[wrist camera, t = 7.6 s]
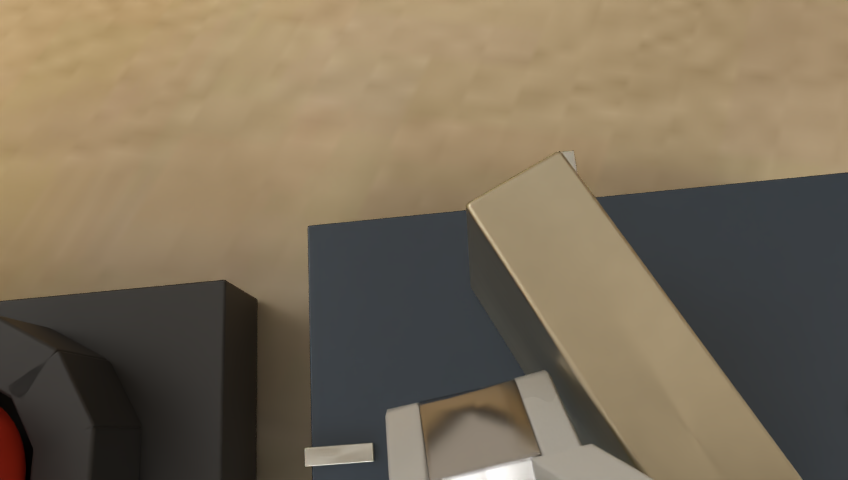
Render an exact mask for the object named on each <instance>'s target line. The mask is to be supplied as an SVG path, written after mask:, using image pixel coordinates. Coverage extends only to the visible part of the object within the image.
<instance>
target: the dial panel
mask: <svg viewBox="0 0 848 480" xmlns="http://www.w3.org/2000/svg"><path fill="white" fill-rule="evenodd" d="M561 153H563V154H564V156H565V157H566V158H567V160H568V161H569V163H570V164H571V165H572V167H573V168H574V169H575V171H576V172H577V167H576V161H575V154H574V151H565V152H561ZM595 198H596V199H597V201H598V202H599V203H600V205H601V206H602V207H603V209H604V210H605V212H606V213H607V214H608V216H609V217H610V218H611V220H612V221H613V222H614V224H615V225H616V226H617V228H618V229H619V231H620V232H621V233H622V235H623V236H624V237H625V239H626V240H627V241H628V243H629V244H630V246H631V247H632V248H633V250H634V251H635V252H636V254H637V255H638V256H639V258H640V259H641V260H642V262H643V263H644V265H645V266H646V267H647V269H648V270H649V271H650V273H651V274H652V275H653V277H654V278H655V280H656V281H657V282H658V284H659V285H660V286H661V288H662V289H663V290H664V292H665V293H666V294H667V296H668V297H669V299H670V300H671V301H672V303H673V304H674V305H675V307H676V308H677V309H678V311H679V312H680V314H681V315H682V316H683V318H684V319H685V320H686V322H687V323H688V324H689V326H690V327H691V328H692V330H693V331H694V333H695V334H696V335H697V337H698V338H699V339H700V341H701V342H702V343H703V345H704V346H705V348H706V349H707V350H708V352H709V353H710V354H711V356H712V357H713V358H714V360H715V361H716V362H717V364H718V365H719V367H720V368H721V369H722V371H723V372H724V373H725V375H726V376H727V377H728V379H729V380H730V382H731V383H732V384H733V386H734V387H735V388H736V390H737V391H738V392H739V394H740V395H741V396H742V398H743V399H744V401H745V402H746V403H747V405H748V406H749V407H750V409H751V410H752V411H753V413H754V414H755V416H756V417H757V418H758V420H759V421H760V422H761V424H762V425H763V426H764V428H765V429H766V430H767V432H768V433H769V435H770V436H771V437H772V439H773V440H774V441H775V443H776V444H777V445H778V447H779V448H780V449H781V451H782V452H783V454H784V455H785V456H786V458H787V459H788V460H789V462H790V463H791V464H792V466H793V467H794V469H795V470H796V471H797V473H798V474H799V475H800V477H801V478H802V479H803V480H848V173H837V174H827V175H817V176H807V177H797V178H787V179H777V180H766V181H756V182H746V183H736V184H726V185H716V186H706V187H696V188H686V189H676V190H665V191H655V192H645V193H635V194H625V195H615V196H605V197H595ZM308 271H309V324H310V378H311V431H312V447H309V448H305V467H308V466H312V480H389V471H388V454H387V437H386V420H385V416H386V412H387V409H391V408H396V407H400V406H404V405H409V404H413V403H420V401H424V400H428V399H433V398H437V397H442V396H446V395H451V394H455V393H459V392H464V391H468V390H473V389H477V388H481V387H485V386H489V385H493V384H497V383H501V382H505V381H509V380H512V379H513V380H514V378H517V377H521V376H524V375H525V373H524V371H523V370H522V368H521V367H520V365H519V363H518V362H517V360H516V359H515V357H514V355H513V354H512V352H511V351H510V349H509V347H508V346H507V344H506V343H505V341H504V339H503V338H502V336H501V335H500V333H499V331H498V330H497V328H496V327H495V325H494V324H493V322H492V320H491V319H490V317H489V316H488V314H487V312H486V311H485V309H484V308H483V306H482V304H481V303H480V301H479V300H478V298H477V296H476V295H475V293H474V292H473V290H472V288H471V285H470V267H469V249H468V231H467V213H466V210H463V211H453V212H443V213H433V214H423V215H413V216H403V217H393V218H383V219H373V220H362V221H352V222H342V223H332V224H322V225H312V226H308Z"/></svg>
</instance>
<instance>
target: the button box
mask: <svg viewBox="0 0 848 480" xmlns="http://www.w3.org/2000/svg"><path fill="white" fill-rule="evenodd" d="M256 395H257V299H256V298H254V297H252V296H251V295H249V294H247V293H246V292H244V291H242V290H241V289H239V288H238V287H236V286H234V285H233V284H231V283H229V282H228V281H226V280H217V281H207V282H196V283H186V284H175V285H165V286H154V287H143V288H133V289H122V290H112V291H101V292H91V293H80V294H70V295H59V296H48V297H38V298H27V299H17V300H6V301H0V407H1V408H2V409H3V410H4V411H6V412H7V413H8V415H9V416H10V417H11V419H12V420H13V421H14V423H15V425H16V427H17V429H18V431H19V433H20V436H21V439H22V442H23V446H24V451H25V458H26V478H25V480H256Z"/></svg>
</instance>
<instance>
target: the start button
mask: <svg viewBox="0 0 848 480" xmlns="http://www.w3.org/2000/svg"><path fill="white" fill-rule="evenodd" d="M25 478H26V458H25V451H24V446H23V442H22V439H21V436H20V433H19V431H18V429H17V427H16V425H15V423H14V421H13V420H12V419H11V417H10V416H9V415H8V413H7V412H6V411H4V410H3V409H2V408H1V407H0V480H25Z"/></svg>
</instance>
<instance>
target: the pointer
mask: <svg viewBox="0 0 848 480" xmlns="http://www.w3.org/2000/svg"><path fill="white" fill-rule="evenodd" d="M466 213H467V231H468V249H469V267H470V285H471V288H472V290H473V292H474V293H475V295H476V296H477V298H478V300H479V301H480V303H481V304H482V306H483V308H484V309H485V311H486V312H487V314H488V316H489V317H490V319H491V320H492V322H493V324H494V325H495V327H496V328H497V330H498V331H499V333H500V335H501V336H502V338H503V339H504V341H505V343H506V344H507V346H508V347H509V349H510V351H511V352H512V354H513V355H514V357H515V359H516V360H517V362H518V363H519V365H520V367H521V368H522V370H523V371H524V373H525V375H528V374H532V373H535V372H539V371H543V370H546V371H547V372H548V373H549V374H550V376H551V378H552V380H553V383H554V385H555V387H556V389H557V392H558V394H559V396H560V398H561V400H562V403H563V405H564V407H565V409H566V411H567V414H568V416H569V418H570V420H571V422H572V425H573V427H574V429H575V431H576V433H577V436H578V438H579V440H580V442H581V444H582V446H583V445H587V444H594V445H596V446H598V447H599V448H601V449H603V450H604V451H606V452H608V453H610V454H611V455H613V456H615V457H616V458H618V459H620V460H622V461H623V462H625V463H627V464H628V465H630V466H632V467H634V468H635V469H637V470H639V471H640V472H642V473H644V474H645V475H647V476H649V477H651V478H652V479H654V480H803V479H802V478H801V477H800V475H799V474H798V473H797V471H796V470H795V469H794V467H793V466H792V464H791V463H790V462H789V460H788V459H787V458H786V456H785V455H784V454H783V452H782V451H781V449H780V448H779V447H778V445H777V444H776V443H775V441H774V440H773V439H772V437H771V436H770V435H769V433H768V432H767V430H766V429H765V428H764V426H763V425H762V424H761V422H760V421H759V420H758V418H757V417H756V416H755V414H754V413H753V411H752V410H751V409H750V407H749V406H748V405H747V403H746V402H745V401H744V399H743V398H742V396H741V395H740V394H739V392H738V391H737V390H736V388H735V387H734V386H733V384H732V383H731V382H730V380H729V379H728V377H727V376H726V375H725V373H724V372H723V371H722V369H721V368H720V367H719V365H718V364H717V362H716V361H715V360H714V358H713V357H712V356H711V354H710V353H709V352H708V350H707V349H706V348H705V346H704V345H703V343H702V342H701V341H700V339H699V338H698V337H697V335H696V334H695V333H694V331H693V330H692V328H691V327H690V326H689V324H688V323H687V322H686V320H685V319H684V318H683V316H682V315H681V314H680V312H679V311H678V309H677V308H676V307H675V305H674V304H673V303H672V301H671V300H670V299H669V297H668V296H667V294H666V293H665V292H664V290H663V289H662V288H661V286H660V285H659V284H658V282H657V281H656V280H655V278H654V277H653V275H652V274H651V273H650V271H649V270H648V269H647V267H646V266H645V265H644V263H643V262H642V260H641V259H640V258H639V256H638V255H637V254H636V252H635V251H634V250H633V248H632V247H631V246H630V244H629V243H628V241H627V240H626V239H625V237H624V236H623V235H622V233H621V232H620V231H619V229H618V228H617V226H616V225H615V224H614V222H613V221H612V220H611V218H610V217H609V216H608V214H607V213H606V212H605V210H604V209H603V207H602V206H601V205H600V203H599V202H598V201H597V199H596V198H595V197H594V195H593V194H592V192H591V191H590V190H589V188H588V187H587V186H586V184H585V183H584V182H583V180H582V179H581V178H580V176H579V175H578V173H577V172H576V171H575V169H574V168H573V167H572V165H571V164H570V163H569V161H568V160H567V158H566V157H565V156H564V154H563V153H561V152H560V151H559V152H555V153H553V154H552V155H550V156H548V157H547V158H545V159H543V160H541V161H540V162H538V163H536V164H534V165H533V166H531V167H529V168H528V169H526V170H524V171H522V172H521V173H519V174H517V175H516V176H514V177H512V178H510V179H509V180H507V181H505V182H503V183H502V184H500V185H498V186H497V187H495V188H493V189H491V190H490V191H488V192H486V193H485V194H483V195H481V196H479V197H478V198H476V199H474V200H472V201H471V202H469V203H468V204H467V206H466Z"/></svg>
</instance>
